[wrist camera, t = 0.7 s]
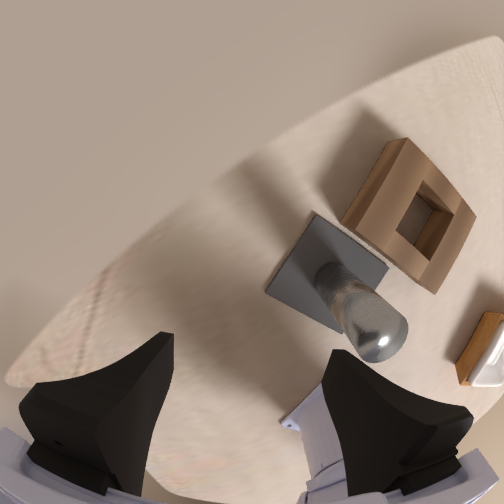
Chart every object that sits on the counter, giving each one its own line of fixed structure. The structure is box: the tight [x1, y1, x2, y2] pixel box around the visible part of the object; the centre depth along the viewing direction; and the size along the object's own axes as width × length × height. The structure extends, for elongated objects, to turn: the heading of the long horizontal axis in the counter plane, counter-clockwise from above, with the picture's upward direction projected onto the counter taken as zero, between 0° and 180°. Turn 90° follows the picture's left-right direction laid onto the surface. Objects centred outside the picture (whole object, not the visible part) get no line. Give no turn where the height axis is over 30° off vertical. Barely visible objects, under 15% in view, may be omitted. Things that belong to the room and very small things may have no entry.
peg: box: [314, 262, 408, 363], centre depth 16 cm, size 3×3×9 cm
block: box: [340, 137, 476, 295], centre depth 19 cm, size 10×8×3 cm
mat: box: [265, 215, 389, 334], centre depth 21 cm, size 8×7×1 cm
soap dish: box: [455, 312, 504, 387], centre depth 22 cm, size 12×10×5 cm
